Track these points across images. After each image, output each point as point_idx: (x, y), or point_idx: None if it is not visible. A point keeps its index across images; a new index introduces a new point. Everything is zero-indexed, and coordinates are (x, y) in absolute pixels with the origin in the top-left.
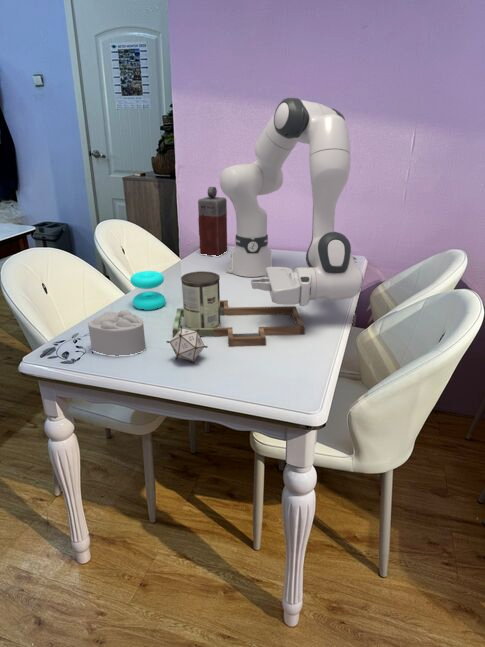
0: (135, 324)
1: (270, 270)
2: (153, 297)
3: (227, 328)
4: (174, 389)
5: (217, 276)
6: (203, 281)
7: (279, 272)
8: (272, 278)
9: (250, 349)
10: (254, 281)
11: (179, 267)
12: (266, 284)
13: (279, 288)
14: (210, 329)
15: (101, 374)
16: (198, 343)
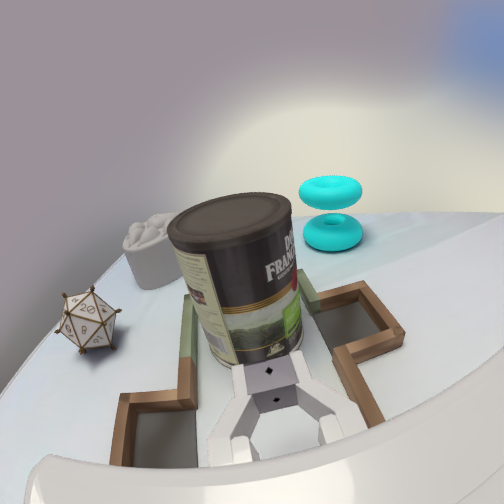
0: (133, 245)
1: (474, 397)
2: (322, 227)
3: (182, 387)
4: (43, 340)
5: (234, 232)
6: (186, 226)
7: (465, 480)
8: (262, 482)
9: (107, 448)
10: (253, 370)
11: (495, 215)
12: (211, 450)
13: (44, 488)
14: (180, 352)
15: (104, 276)
16: (67, 331)
